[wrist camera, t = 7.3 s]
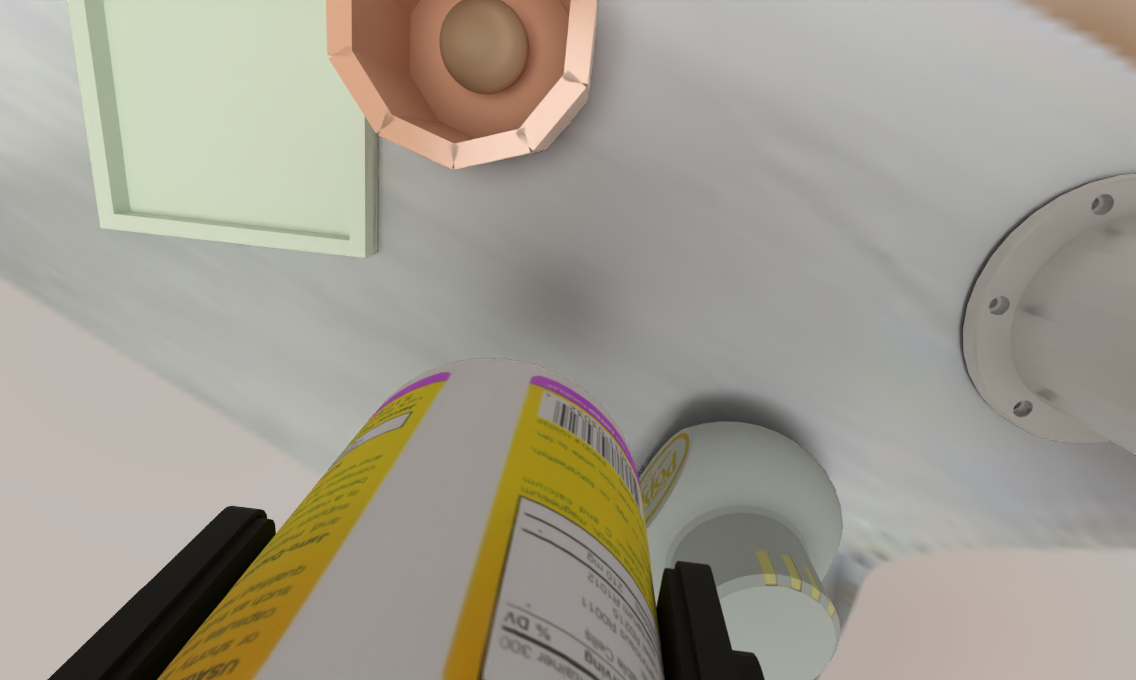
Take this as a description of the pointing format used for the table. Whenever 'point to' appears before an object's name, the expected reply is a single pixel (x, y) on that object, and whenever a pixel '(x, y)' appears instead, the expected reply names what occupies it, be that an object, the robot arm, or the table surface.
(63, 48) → the table surface
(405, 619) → the supplement bottle
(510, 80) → the cork ball
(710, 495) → the air freshener
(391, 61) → the pot
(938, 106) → the table surface
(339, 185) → the tray
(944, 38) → the table surface
